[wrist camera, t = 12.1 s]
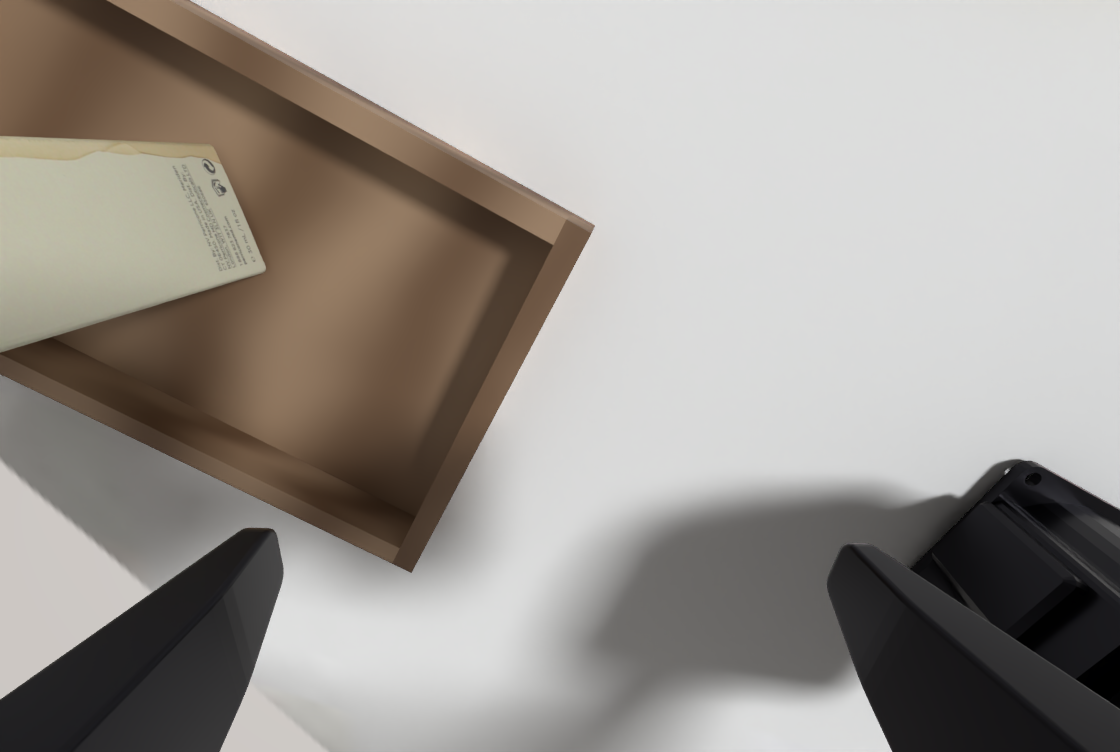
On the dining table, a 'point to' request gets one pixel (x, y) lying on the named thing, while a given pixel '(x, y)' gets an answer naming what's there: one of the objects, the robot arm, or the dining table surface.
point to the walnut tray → (294, 272)
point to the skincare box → (111, 231)
